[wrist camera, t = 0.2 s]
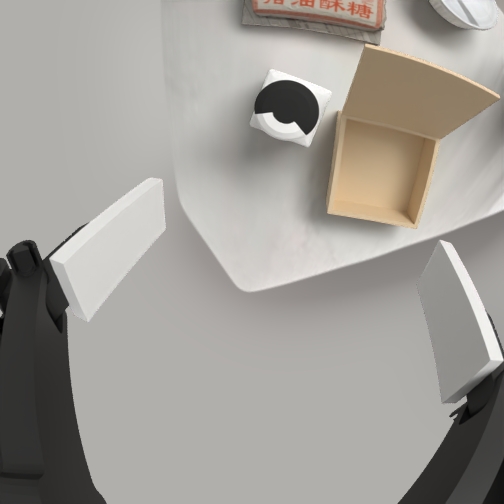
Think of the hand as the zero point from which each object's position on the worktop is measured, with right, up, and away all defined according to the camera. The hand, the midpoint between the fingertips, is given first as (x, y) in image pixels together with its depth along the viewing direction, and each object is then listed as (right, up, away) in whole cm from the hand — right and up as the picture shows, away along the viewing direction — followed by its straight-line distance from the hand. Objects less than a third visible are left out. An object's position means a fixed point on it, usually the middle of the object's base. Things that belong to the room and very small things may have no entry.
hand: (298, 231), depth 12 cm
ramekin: (+26, +34, +4) cm, 43 cm away
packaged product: (+6, +32, +11) cm, 34 cm away
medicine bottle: (+3, +18, +20) cm, 28 cm away
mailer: (+15, +14, +20) cm, 29 cm away
